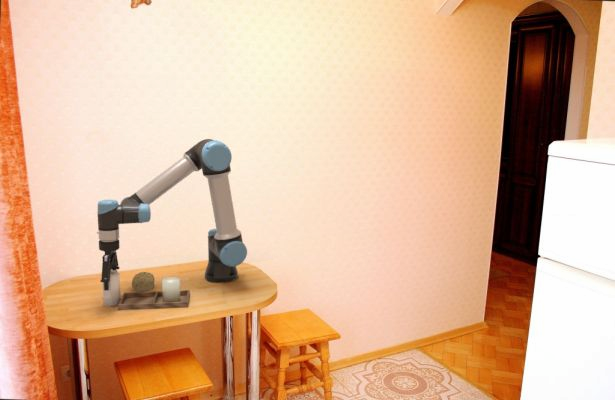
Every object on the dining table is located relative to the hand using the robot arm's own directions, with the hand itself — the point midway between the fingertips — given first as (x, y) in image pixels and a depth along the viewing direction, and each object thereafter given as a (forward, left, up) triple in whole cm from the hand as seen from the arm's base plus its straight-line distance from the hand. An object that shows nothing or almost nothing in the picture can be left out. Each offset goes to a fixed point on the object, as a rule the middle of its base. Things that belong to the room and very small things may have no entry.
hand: (110, 291), depth 207 cm
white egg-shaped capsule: (-24, +3, -4) cm, 24 cm away
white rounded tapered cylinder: (0, 0, -5) cm, 5 cm away
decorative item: (-10, -14, -5) cm, 18 cm away
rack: (-17, +3, -5) cm, 18 cm away
